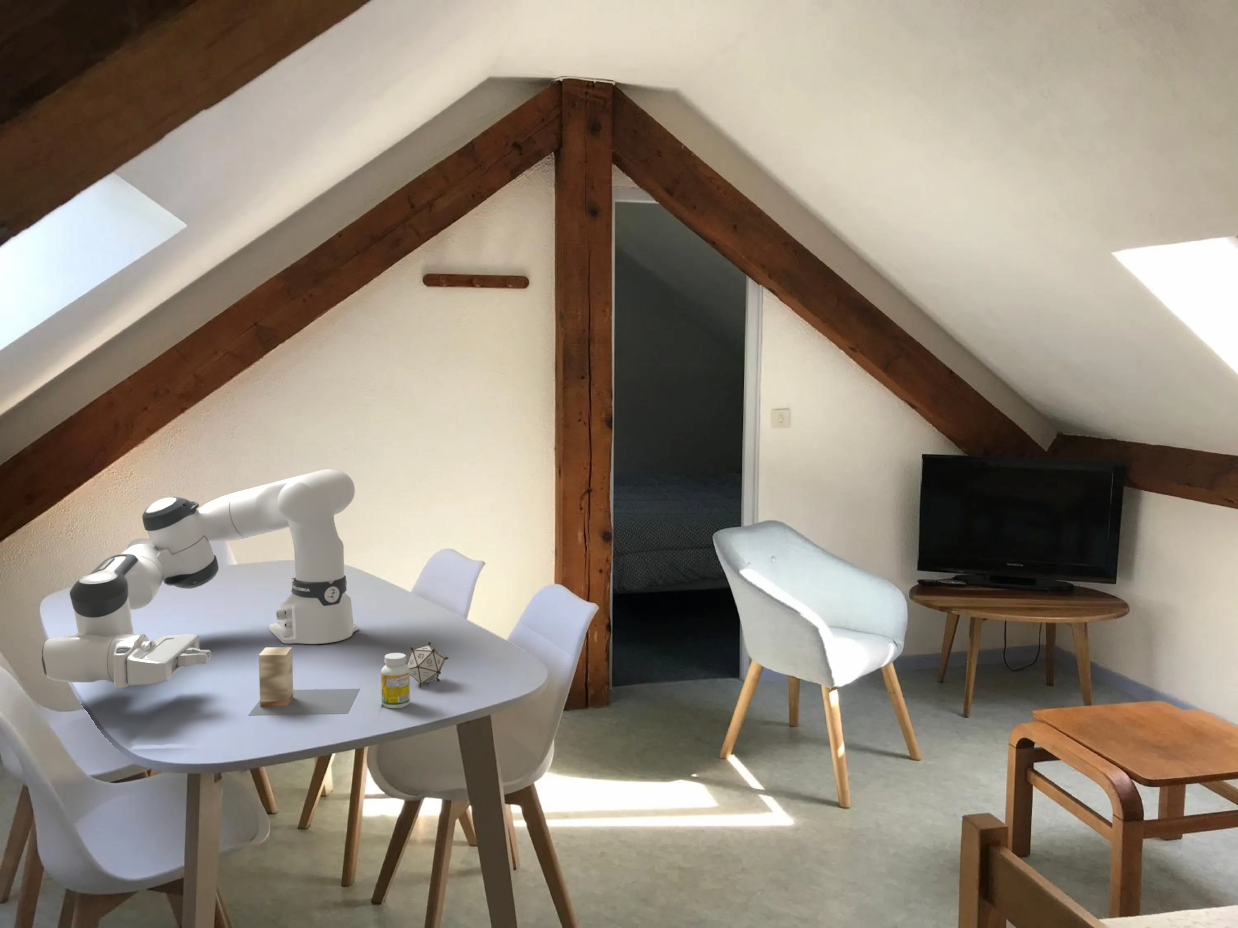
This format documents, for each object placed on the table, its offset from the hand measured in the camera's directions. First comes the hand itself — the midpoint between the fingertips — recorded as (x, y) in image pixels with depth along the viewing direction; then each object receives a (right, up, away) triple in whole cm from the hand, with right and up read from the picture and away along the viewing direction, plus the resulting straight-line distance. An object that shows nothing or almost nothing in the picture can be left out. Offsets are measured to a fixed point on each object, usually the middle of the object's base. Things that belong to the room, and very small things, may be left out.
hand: (208, 656), depth 197 cm
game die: (+38, -9, +16) cm, 42 cm away
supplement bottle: (+35, -10, +4) cm, 36 cm away
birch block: (+12, -9, +2) cm, 15 cm away
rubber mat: (+18, -10, +3) cm, 20 cm away
